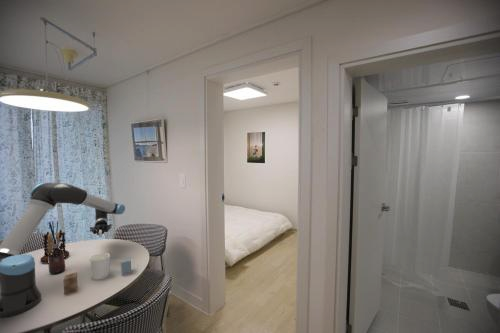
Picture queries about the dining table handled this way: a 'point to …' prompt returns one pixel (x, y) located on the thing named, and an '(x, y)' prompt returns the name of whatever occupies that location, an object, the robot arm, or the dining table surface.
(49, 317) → the dining table surface
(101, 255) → the candle holder
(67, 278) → the walnut block
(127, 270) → the slate-blue block
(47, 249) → the brown dark-edged pieces
